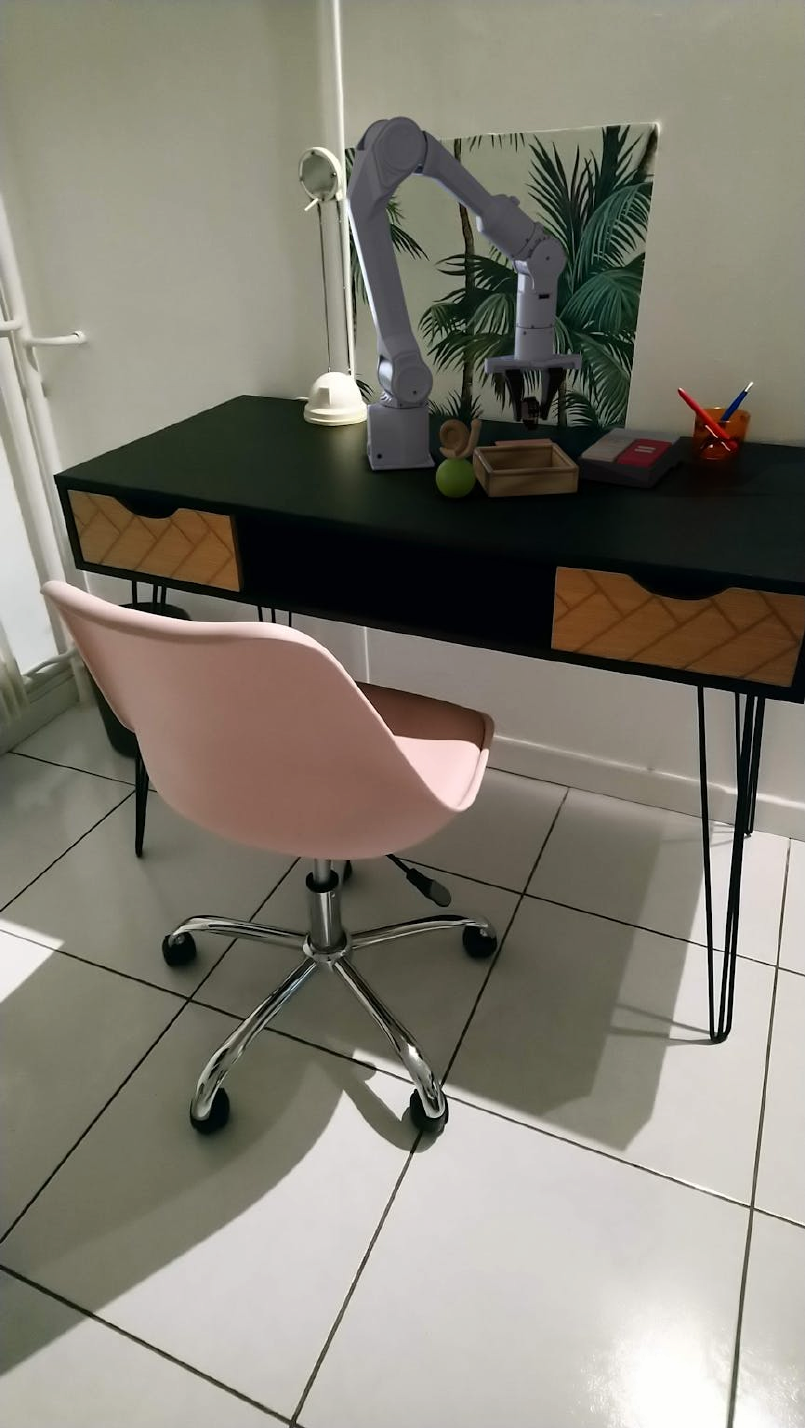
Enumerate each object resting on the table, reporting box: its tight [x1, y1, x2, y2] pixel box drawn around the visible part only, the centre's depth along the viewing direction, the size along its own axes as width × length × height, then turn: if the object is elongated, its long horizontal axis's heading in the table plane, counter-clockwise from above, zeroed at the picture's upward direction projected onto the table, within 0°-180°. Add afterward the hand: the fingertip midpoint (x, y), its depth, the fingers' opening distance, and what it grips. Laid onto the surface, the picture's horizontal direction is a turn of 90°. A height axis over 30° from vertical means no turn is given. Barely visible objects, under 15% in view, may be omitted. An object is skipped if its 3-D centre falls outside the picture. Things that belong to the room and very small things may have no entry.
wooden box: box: [472, 442, 579, 498], centre depth 127 cm, size 12×12×4 cm
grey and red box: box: [576, 427, 684, 490], centre depth 130 cm, size 11×4×15 cm
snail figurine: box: [435, 409, 484, 499], centre depth 119 cm, size 5×6×12 cm
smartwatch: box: [521, 395, 541, 432], centre depth 139 cm, size 4×5×5 cm
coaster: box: [494, 438, 554, 446], centre depth 141 cm, size 9×9×1 cm
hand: (530, 419), depth 139 cm, fingers closed on smartwatch, 3 cm apart
